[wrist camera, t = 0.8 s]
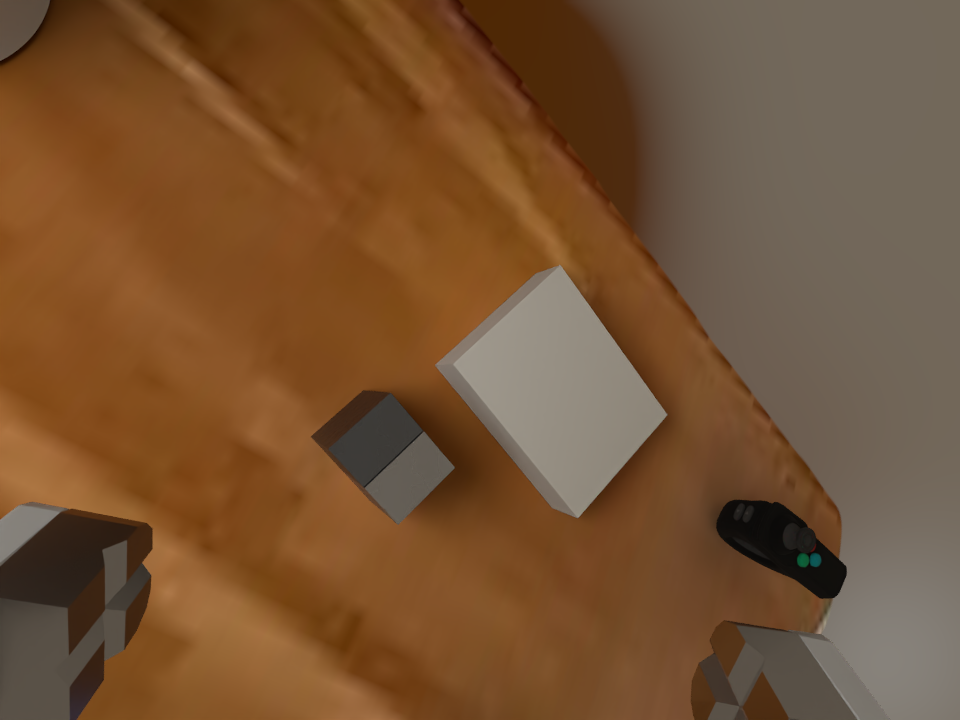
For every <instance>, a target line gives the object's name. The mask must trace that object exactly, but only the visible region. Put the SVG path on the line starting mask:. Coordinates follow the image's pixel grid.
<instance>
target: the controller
mask: <svg viewBox="0 0 960 720" xmlns="http://www.w3.org/2000/svg"><path fill="white" fill-rule="evenodd" d="M716 528H717V531H718V533H719V535H720V537H721V538H722V539H723V540H724V541H725V542H726V543H728V544H729V545H730V546H731V547H733V548H734V549H736V550H737V551H739V552H740V553H742V554H743V555H745V556H747V557H748V558H750V559H752V560H754V561H756V562H758V563H759V564H761V565H763V566H765V567H768V568H770V569H772V570H774V571H776V572H778V573H781V574H783V575H786V576H788V577H790V578H793V579H795V580H796V581H798V582H799V583H800V584H802V585H803V586H804V587H806V588H807V589H808V590H810V591H811V592H812V593H814V594H815V595H816V596H818V597H819V598H821V599H823V598H834V597H835V596H837V595H838V593H839V592H840V590H841V587H842V585H843V582H844V580H845V578H846V574H847V569H846V566H845V565H844V564H843V563H842V562H841V561H840V560H839V559H838V558H837V557H836V556H835V555H834V554H833V553H832V552H830V551H829V550H828V549H827V548H826V547H825V546H824V545H823V544H822V543H821V542H820V541H819V540H818V539H817V538H816V536H815V533H814V531H813V530H812V529H810V528H808V527H807V524H806V523H805V522H804V521H803V520H802V519H800V518H799V517H798V516H796V515H795V514H794V513H793V512H791V511H790V510H789V509H787V508H786V507H785V506H784V505H782V504H780V503H778V502H774V503H769V502H767V501H748V500H733V501H730V502H728V503H727V504H726V505H725V506H724V507H723V509H722V511H721V513H720V515H719V517H718V519H717V525H716Z"/></svg>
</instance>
